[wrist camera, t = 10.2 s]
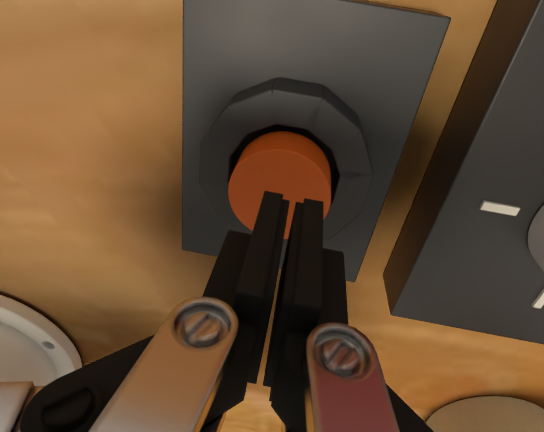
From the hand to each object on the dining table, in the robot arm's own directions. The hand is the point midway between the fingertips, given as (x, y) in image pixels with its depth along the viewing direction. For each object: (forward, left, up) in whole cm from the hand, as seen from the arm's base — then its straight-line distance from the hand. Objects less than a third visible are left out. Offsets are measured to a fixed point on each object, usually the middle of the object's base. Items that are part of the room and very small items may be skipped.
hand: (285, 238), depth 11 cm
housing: (0, 0, -8) cm, 8 cm away
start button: (0, 0, -4) cm, 4 cm away
